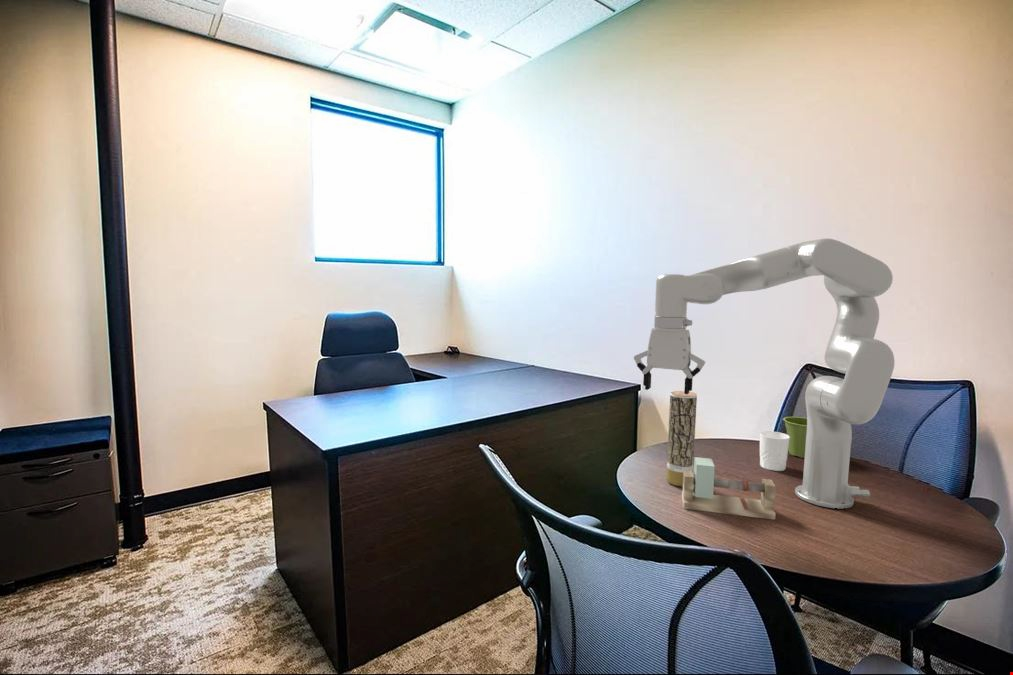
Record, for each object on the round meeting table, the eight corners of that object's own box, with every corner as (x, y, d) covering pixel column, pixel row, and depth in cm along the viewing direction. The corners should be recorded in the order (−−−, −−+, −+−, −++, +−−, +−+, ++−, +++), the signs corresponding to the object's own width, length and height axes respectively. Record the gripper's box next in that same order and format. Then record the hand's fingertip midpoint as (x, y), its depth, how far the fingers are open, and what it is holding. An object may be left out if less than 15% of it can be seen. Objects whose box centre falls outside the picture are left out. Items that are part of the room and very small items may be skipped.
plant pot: (832, 460, 154) (835, 425, 152) (800, 462, 151) (803, 427, 150) (802, 448, 165) (805, 415, 164) (772, 450, 163) (774, 417, 161)
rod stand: (767, 506, 120) (769, 477, 119) (775, 519, 113) (777, 488, 112) (681, 496, 125) (683, 468, 124) (683, 508, 118) (685, 478, 118)
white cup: (788, 465, 148) (790, 433, 147) (786, 474, 141) (789, 440, 140) (759, 460, 152) (761, 429, 151) (756, 468, 146) (758, 435, 145)
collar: (709, 489, 122) (711, 458, 122) (712, 498, 117) (714, 466, 116) (692, 487, 124) (694, 457, 123) (695, 496, 118) (696, 464, 117)
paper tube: (688, 489, 130) (692, 397, 127) (662, 483, 134) (666, 393, 131) (695, 481, 135) (700, 393, 132) (671, 475, 139) (675, 389, 136)
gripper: (709, 324, 121) (705, 392, 123) (639, 321, 130) (637, 384, 131) (704, 326, 114) (700, 398, 116) (631, 323, 123) (629, 389, 125)
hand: (667, 391), depth 124 cm, fingers open, 9 cm apart
